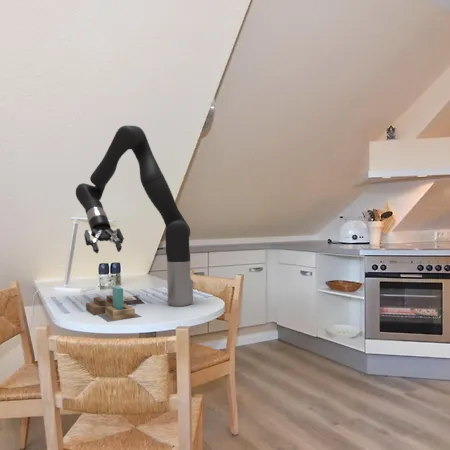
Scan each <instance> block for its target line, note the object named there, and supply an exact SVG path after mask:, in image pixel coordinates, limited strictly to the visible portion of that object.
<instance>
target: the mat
mask: <svg viewBox="0 0 450 450" xmlns="http://www.w3.org/2000/svg"><path fill="white" fill-rule="evenodd" d="M97 316H98V317H100V318H101V319H103V320H104V321H106V322H108V323H110V322H117V321H123V320H130V319H136V318H142V316H141V315H140V314H138V313H136V312H135V317H133V318H126V319H120V320H113V319H111V318H109V317H108V316H106V315H105V314H100V315H97Z"/></svg>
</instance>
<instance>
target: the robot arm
mask: <svg viewBox="0 0 450 450" xmlns="http://www.w3.org/2000/svg"><path fill="white" fill-rule="evenodd" d="M128 150H131V151H132V152H133V154H134V156H135V158H136V160H137V163H138V165H139V178H140V183H141V185H142V187H143V189H144V191H145V194H146V195H147V197H148V198H149V201H150V202H151V203H152V205H153V207H154V208H156V210H157V211H158V213H159V214H160V216H161V218H162V220H163V223H164V225H165V227H166V228H165V234H164V235H165V238H164V239H165V255H166V266H167V267H166V271H167V272H166V273H167V275H166V276H167V278H166V279H167V305H168V306H170V307H171V306H172V307H184V306H189V305H192V304H194V286H193V285H194V282H193V281H194V280H193V279H191V278H192V277H191V275H192V274H191V252H190V236H191V228H190V226H189V225H188V223H187V220H185V219H184V216H183V215H182V213H181V212H180V210H179V208H178V206H177V204H176V201H175V199H174V195H173V193H172V191H171V188H170V186H169V184H168V182H167V180H166V178H165V175H164V174H163V172H162V170H161V168H160V167H159V164H158V162H157V161H156V158H155V156H154V153H153V152H152V149H151V146H150V143H149V140H148V138H147V136H146V133H145V131H144V130H143V129H142V128H141V127H139V126H137V125H123V126H120V127H119V128H118V129H117V131H116V132H115V134H114V136H113V139H112V140H111V143H110V145H109V147H108V148H107V151H106V153H105V154H104V156H103V158H102V160H101V161H100V163H99V164H98V165H97V166H96V168H95V170H94V171H93V172H92V174H91V175H90V177H89V179H90V183H91V184H88V183H80V184H78V185H77V186H76V188H75V196H76V199H77V200H78V201H79V203H80V204H81V206H82V207H83V208H84V211H85V213H86V217H87V222H88V225H89V228H90V231H89V230H88V229H85V230H84V234H83V236H84V240H85V244H86V246H91V248H92V251H93V252H94V253H95V254H98V253H99V250H100V249H99V245H98V243H99V242H108V241H109V242H110V243H113V244H114V245H115V247H116V250H117V252H118V253H119V252H121V250H122V244H123V242H124V240H125V238H124V236H123V233H122V231H121V229H120V228H116V229H115V230H113V229H112V227H111V224H110V221H109V218H108V215H107V214H106V211H105V210H104V207H103V204H102V202H101V199H102V197H103V194H104V192H105V188H106V186H107V185H108V183H109V182H110V180H111V179H112V177H114V175H115V173H116V171H117V166H118V164H119V161H120V159H121V158H122V156H123V155H124V154H125V153H126V152H127V151H128ZM92 184H93V185H92ZM91 236H92V237H93V240H91Z"/></svg>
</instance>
